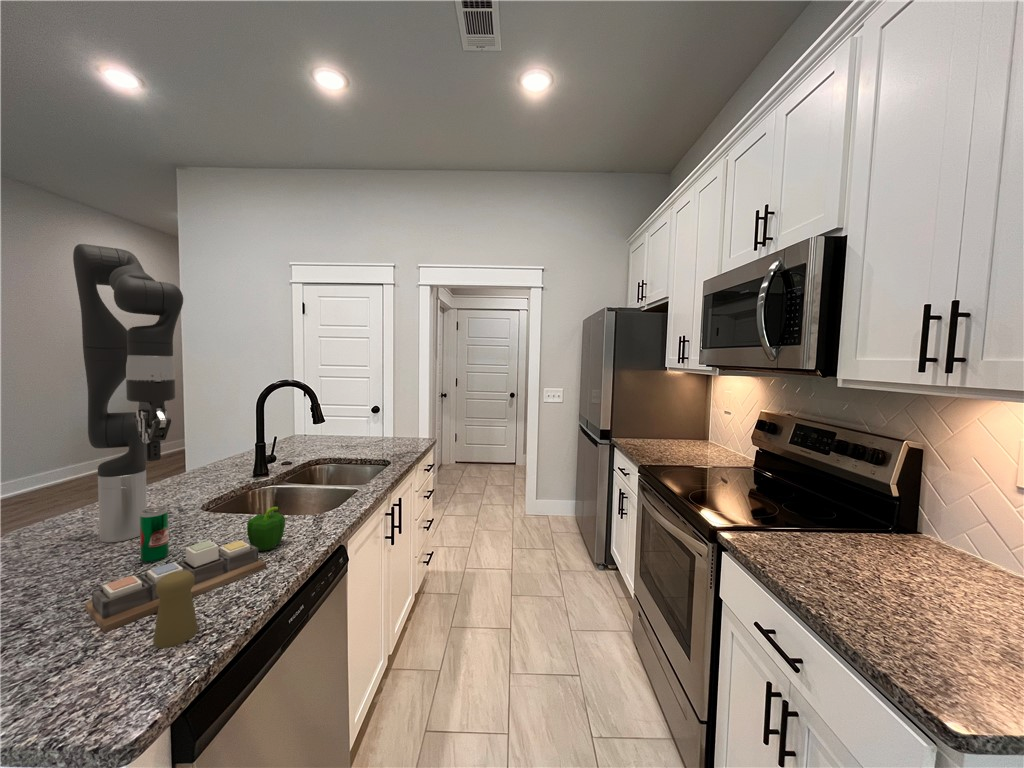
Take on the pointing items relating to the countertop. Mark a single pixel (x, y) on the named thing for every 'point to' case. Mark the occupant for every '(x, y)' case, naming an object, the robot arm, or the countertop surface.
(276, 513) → the bell pepper
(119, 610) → the keypad
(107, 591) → the key
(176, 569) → the key
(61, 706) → the countertop surface
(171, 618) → the cork
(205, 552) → the key
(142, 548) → the soda can
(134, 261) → the robot arm
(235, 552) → the key
